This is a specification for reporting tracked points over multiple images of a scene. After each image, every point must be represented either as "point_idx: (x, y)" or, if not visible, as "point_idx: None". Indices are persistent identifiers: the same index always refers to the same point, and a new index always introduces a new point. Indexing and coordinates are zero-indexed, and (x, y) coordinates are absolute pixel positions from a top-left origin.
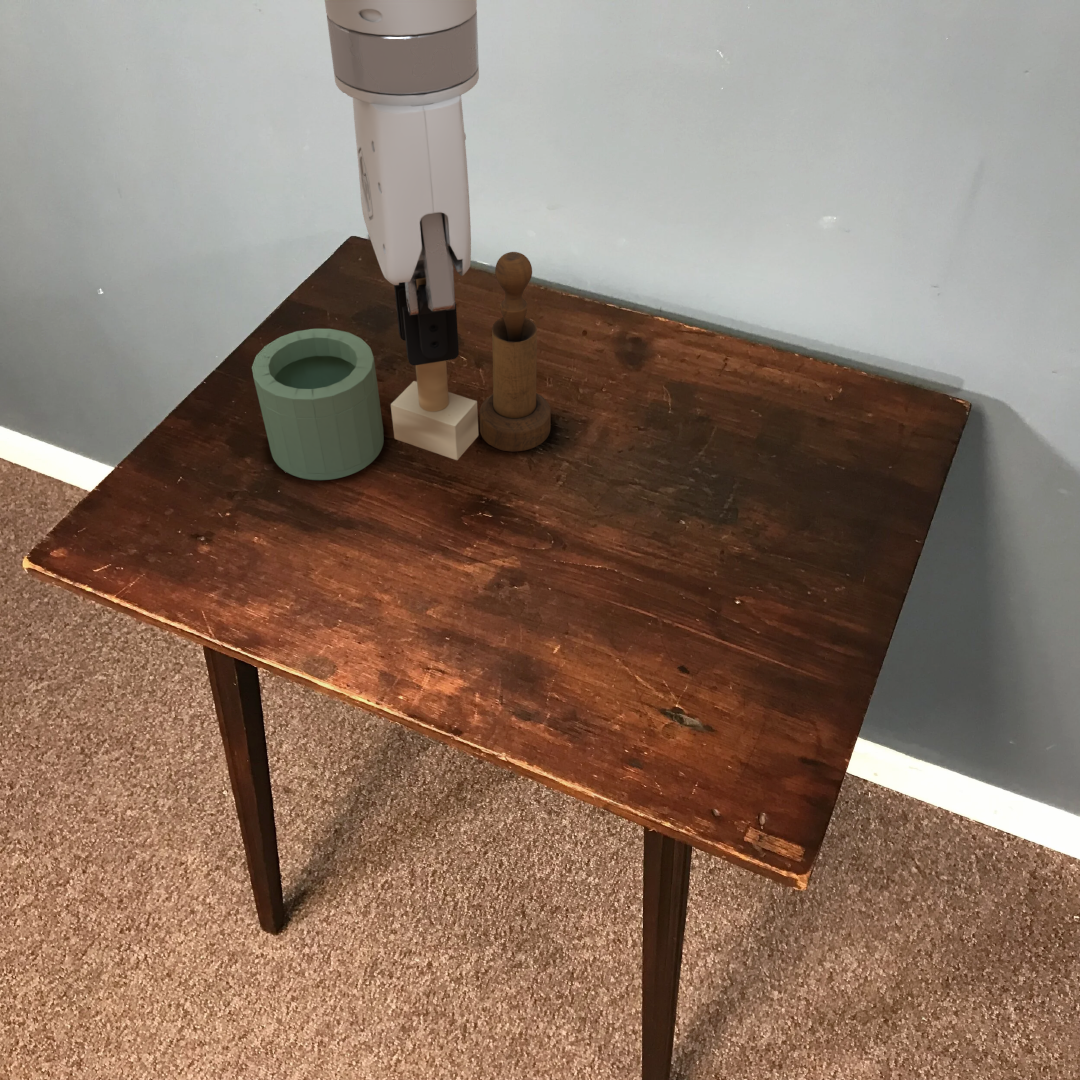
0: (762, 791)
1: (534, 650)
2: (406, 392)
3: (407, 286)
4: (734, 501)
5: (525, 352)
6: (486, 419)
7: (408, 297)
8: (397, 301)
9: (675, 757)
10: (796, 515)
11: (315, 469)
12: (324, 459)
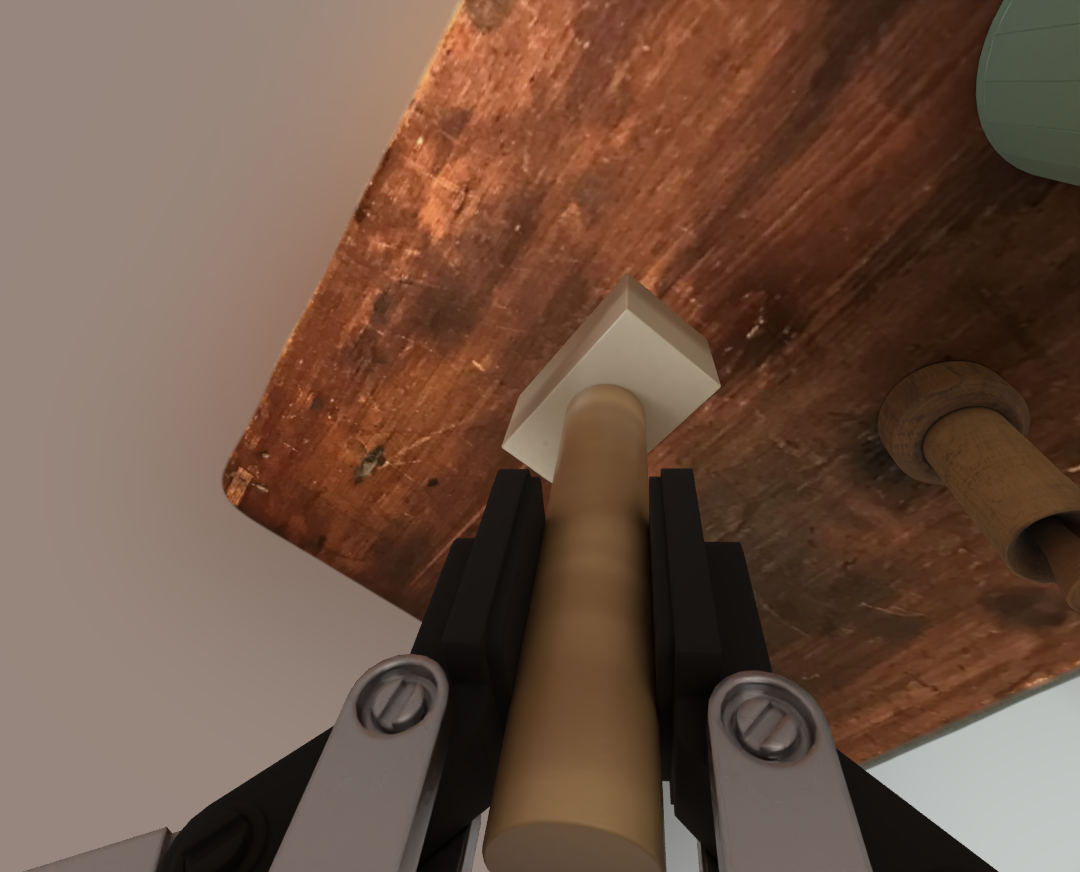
0: (289, 497)
1: (479, 339)
2: (669, 360)
3: (305, 836)
4: None
5: (989, 536)
6: (958, 387)
7: (346, 757)
8: (671, 588)
9: (324, 441)
10: None
11: (1014, 6)
12: (1016, 33)
